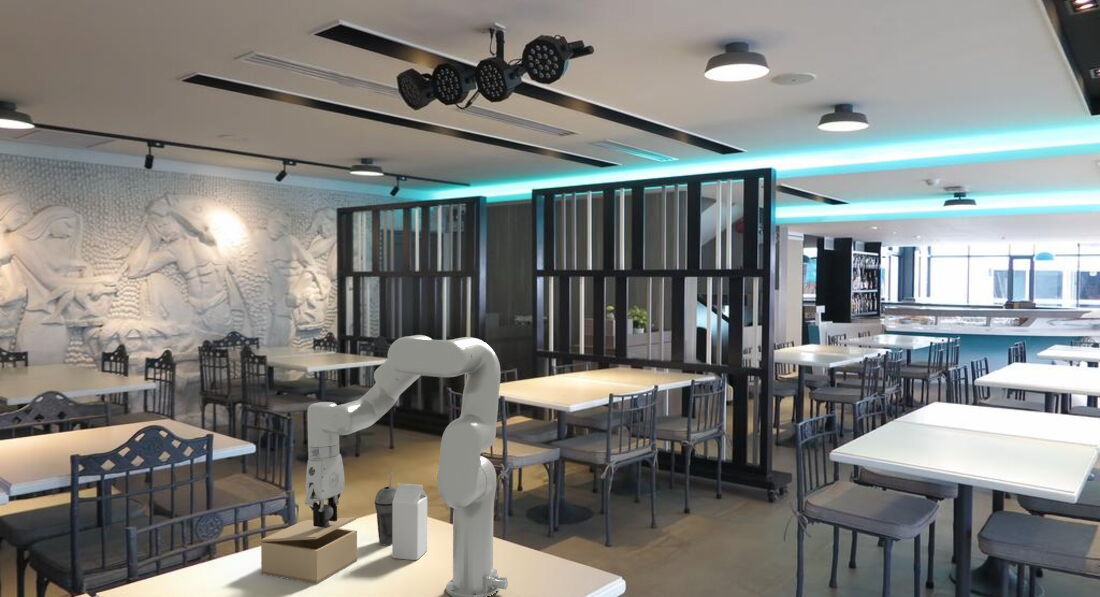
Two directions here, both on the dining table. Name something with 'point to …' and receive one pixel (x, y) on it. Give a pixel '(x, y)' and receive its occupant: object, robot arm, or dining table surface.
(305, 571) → the light brown open box
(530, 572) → the dining table surface
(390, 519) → the beverage cup
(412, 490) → the milk carton
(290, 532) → the flap
